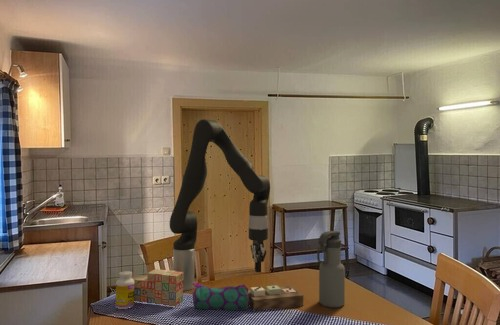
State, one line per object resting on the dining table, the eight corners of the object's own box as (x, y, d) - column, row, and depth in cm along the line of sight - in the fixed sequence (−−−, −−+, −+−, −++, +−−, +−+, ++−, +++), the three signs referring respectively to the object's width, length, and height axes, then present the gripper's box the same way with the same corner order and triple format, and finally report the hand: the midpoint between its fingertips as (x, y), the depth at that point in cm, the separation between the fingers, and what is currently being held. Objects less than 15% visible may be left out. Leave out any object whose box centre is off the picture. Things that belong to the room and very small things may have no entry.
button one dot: (270, 296, 145) (270, 288, 145) (266, 292, 149) (266, 285, 149) (280, 295, 146) (280, 287, 146) (276, 291, 151) (276, 284, 151)
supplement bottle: (128, 311, 138) (128, 275, 138) (111, 309, 139) (112, 274, 140) (137, 304, 145) (137, 270, 145) (121, 303, 146) (122, 269, 146)
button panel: (253, 311, 139) (253, 300, 139) (244, 300, 151) (244, 290, 151) (303, 305, 145) (303, 295, 145) (290, 295, 156) (290, 285, 157)
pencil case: (248, 304, 146) (248, 279, 146) (248, 313, 137) (248, 286, 137) (194, 304, 145) (194, 279, 145) (191, 313, 136) (191, 286, 137)
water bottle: (329, 310, 141) (329, 234, 141) (313, 301, 149) (313, 230, 150) (349, 305, 145) (350, 233, 146) (333, 297, 154) (333, 229, 155)
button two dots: (285, 298, 147) (285, 291, 147) (281, 295, 151) (281, 288, 151) (296, 297, 148) (296, 290, 148) (291, 294, 152) (291, 287, 153)
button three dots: (254, 297, 143) (254, 290, 143) (250, 294, 147) (250, 286, 147) (265, 296, 144) (265, 289, 145) (261, 293, 149) (261, 285, 149)
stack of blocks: (126, 302, 147) (126, 270, 147) (135, 297, 153) (135, 266, 153) (175, 308, 141) (176, 275, 141) (183, 303, 147) (183, 271, 147)
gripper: (244, 224, 152) (243, 268, 151) (254, 229, 139) (253, 277, 139) (261, 224, 154) (261, 266, 153) (273, 229, 141) (273, 275, 141)
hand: (258, 271), depth 146 cm, fingers closed
